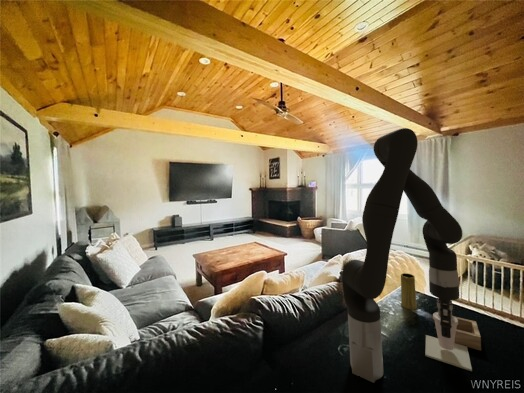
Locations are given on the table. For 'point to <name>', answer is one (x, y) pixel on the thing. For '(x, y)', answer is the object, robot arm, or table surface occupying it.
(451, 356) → the mat
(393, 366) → the table surface
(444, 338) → the smoothie
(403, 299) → the vase
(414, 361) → the table surface
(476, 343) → the sleeve
